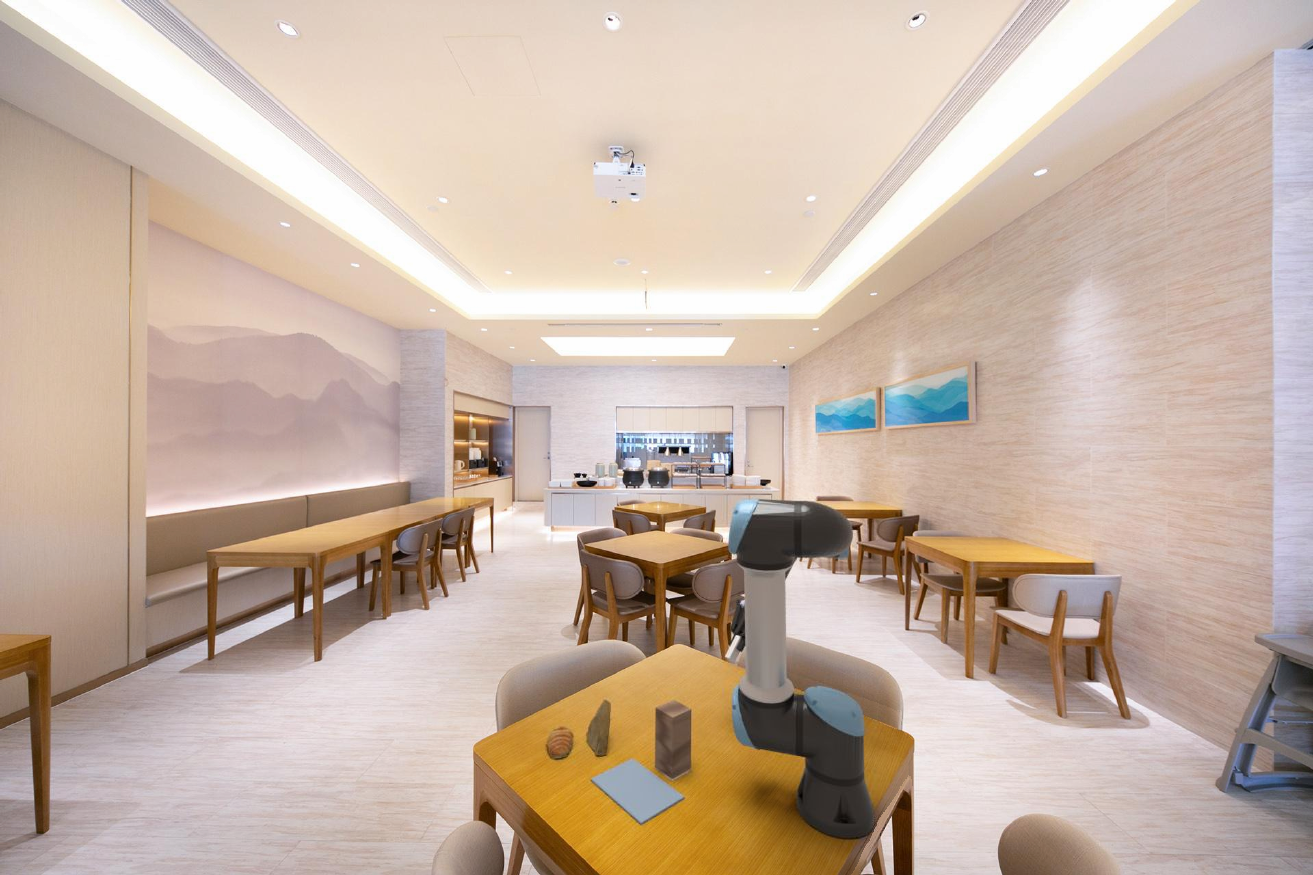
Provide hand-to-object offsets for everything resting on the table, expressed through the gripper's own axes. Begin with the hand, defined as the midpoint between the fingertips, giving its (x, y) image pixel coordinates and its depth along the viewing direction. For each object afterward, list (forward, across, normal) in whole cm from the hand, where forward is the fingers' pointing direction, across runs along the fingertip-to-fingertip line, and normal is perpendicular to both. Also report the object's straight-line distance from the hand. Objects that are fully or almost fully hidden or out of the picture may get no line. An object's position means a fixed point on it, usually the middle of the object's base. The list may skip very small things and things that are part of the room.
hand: (729, 660), depth 130 cm
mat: (+36, 0, +8) cm, 37 cm away
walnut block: (+29, 0, +1) cm, 29 cm away
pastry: (+40, +24, +11) cm, 48 cm away
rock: (+35, +20, +6) cm, 40 cm away
